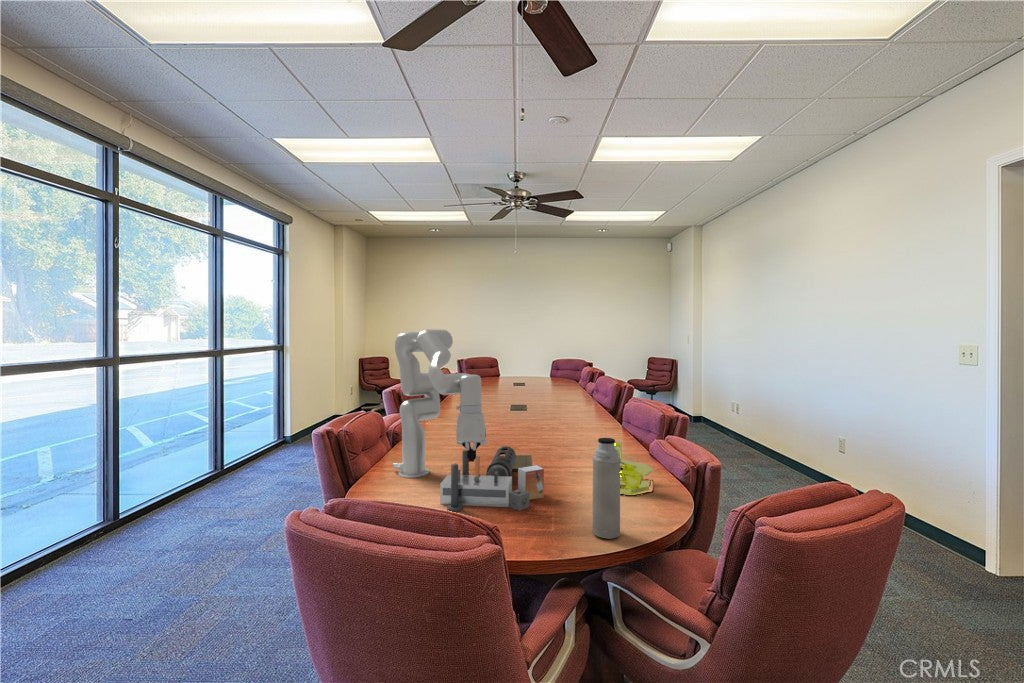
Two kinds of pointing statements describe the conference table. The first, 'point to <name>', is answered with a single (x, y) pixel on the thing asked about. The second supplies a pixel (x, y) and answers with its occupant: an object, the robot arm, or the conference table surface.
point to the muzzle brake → (502, 462)
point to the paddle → (477, 468)
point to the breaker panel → (478, 490)
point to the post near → (454, 490)
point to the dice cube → (519, 499)
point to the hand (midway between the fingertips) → (471, 460)
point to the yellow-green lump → (632, 474)
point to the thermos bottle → (606, 490)
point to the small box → (531, 481)
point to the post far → (465, 463)
